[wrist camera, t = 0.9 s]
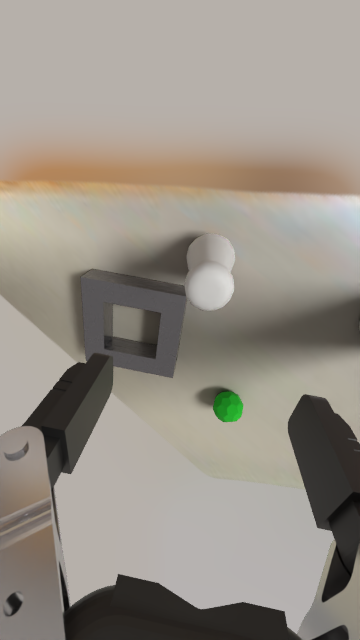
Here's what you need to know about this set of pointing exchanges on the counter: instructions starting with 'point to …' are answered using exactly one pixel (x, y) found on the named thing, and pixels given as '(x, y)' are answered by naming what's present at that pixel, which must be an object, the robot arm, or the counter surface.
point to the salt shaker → (210, 272)
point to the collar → (136, 293)
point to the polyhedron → (228, 406)
